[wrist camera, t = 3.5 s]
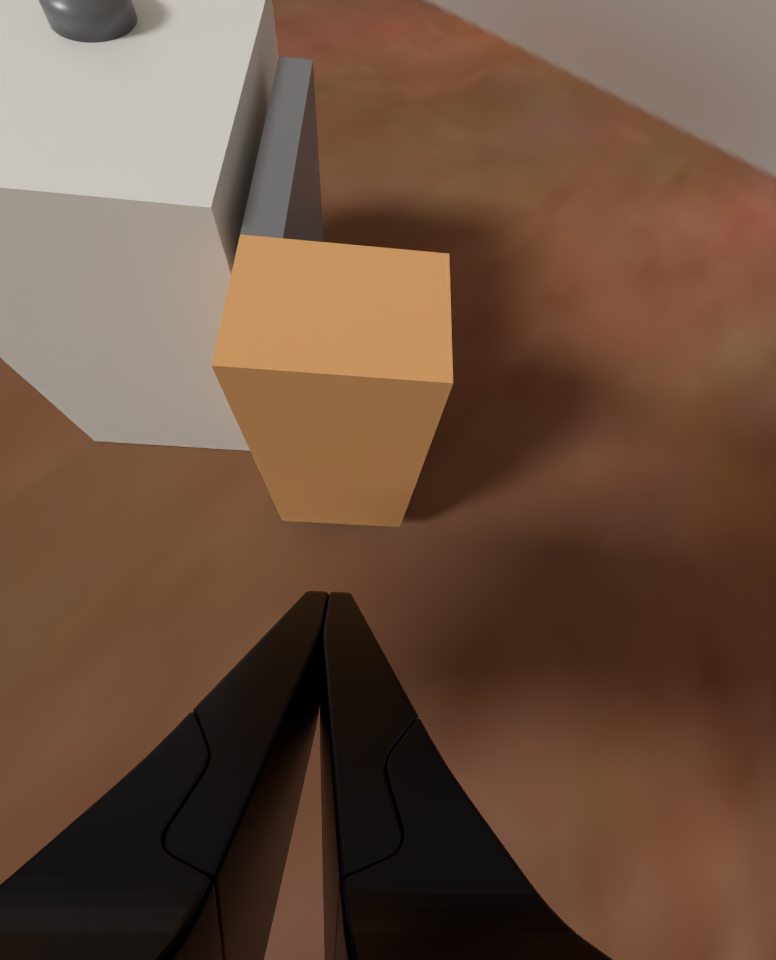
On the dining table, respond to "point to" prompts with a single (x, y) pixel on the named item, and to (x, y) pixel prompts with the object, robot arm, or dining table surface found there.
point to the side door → (329, 338)
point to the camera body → (127, 204)
